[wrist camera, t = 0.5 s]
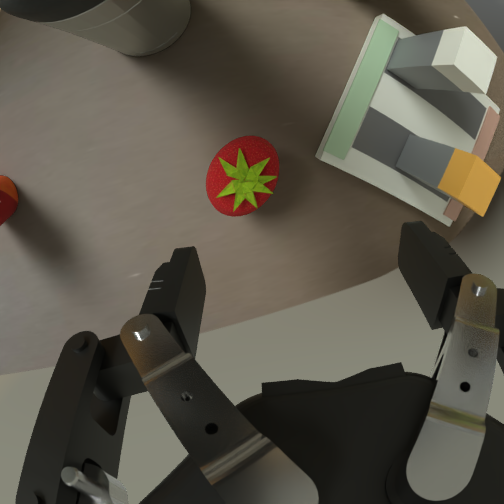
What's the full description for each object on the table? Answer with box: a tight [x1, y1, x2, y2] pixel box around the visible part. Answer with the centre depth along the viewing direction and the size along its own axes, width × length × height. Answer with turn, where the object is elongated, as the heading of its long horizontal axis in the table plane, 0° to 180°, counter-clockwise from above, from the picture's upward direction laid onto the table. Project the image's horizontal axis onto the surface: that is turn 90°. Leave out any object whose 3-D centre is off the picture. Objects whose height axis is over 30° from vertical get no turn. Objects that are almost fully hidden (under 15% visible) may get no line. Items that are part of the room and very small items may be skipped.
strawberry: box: [206, 136, 279, 216], centre depth 28 cm, size 6×8×10 cm
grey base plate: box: [315, 14, 500, 227], centre depth 25 cm, size 20×18×13 cm
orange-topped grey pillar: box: [396, 134, 501, 217], centre depth 26 cm, size 4×4×11 cm
